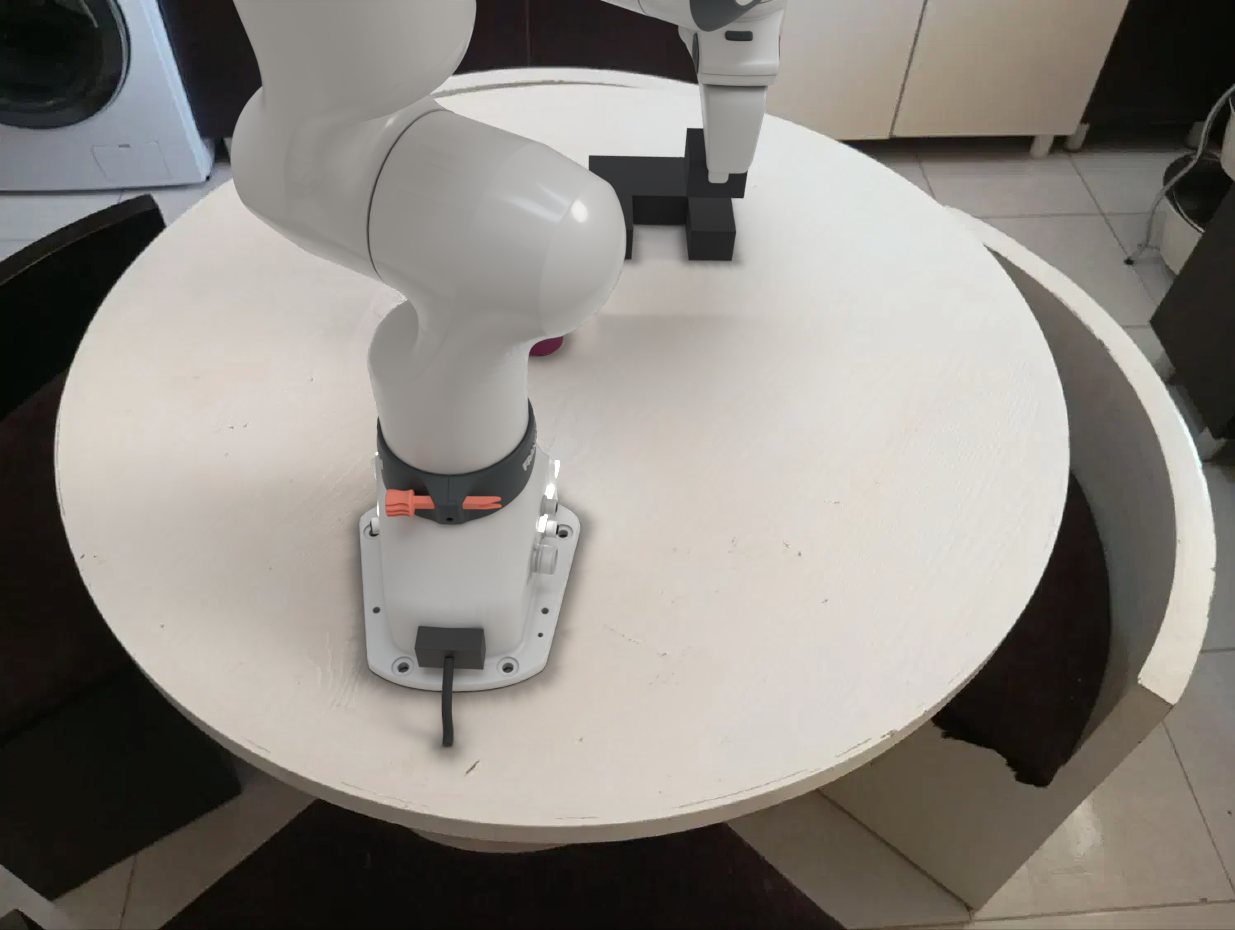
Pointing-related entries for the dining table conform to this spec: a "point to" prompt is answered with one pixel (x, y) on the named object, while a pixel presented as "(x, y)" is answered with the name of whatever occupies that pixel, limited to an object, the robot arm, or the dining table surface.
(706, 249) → the big black u-shaped block
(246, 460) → the dining table surface
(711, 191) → the small cube
